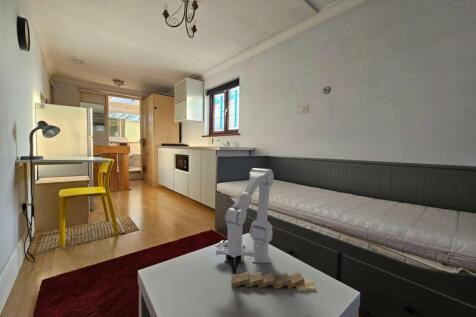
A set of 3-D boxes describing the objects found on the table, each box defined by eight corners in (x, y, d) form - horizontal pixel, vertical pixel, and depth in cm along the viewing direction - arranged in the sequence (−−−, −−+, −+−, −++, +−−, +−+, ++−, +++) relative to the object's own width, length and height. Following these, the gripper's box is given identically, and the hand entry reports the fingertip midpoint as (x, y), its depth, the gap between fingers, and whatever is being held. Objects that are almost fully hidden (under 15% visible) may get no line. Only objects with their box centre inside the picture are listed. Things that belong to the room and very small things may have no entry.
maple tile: (294, 280, 80) (311, 280, 80) (293, 284, 80) (311, 284, 80) (297, 288, 75) (315, 288, 75) (297, 292, 75) (315, 292, 75)
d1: (231, 276, 81) (248, 271, 80) (232, 279, 81) (249, 275, 80) (231, 283, 76) (248, 278, 76) (232, 287, 76) (249, 282, 76)
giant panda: (246, 259, 96) (246, 239, 95) (244, 265, 90) (244, 245, 90) (217, 255, 99) (217, 236, 98) (213, 261, 93) (213, 241, 93)
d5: (282, 277, 80) (298, 271, 81) (283, 281, 80) (299, 275, 81) (287, 285, 76) (304, 278, 77) (288, 288, 76) (304, 282, 77)
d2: (244, 276, 80) (261, 271, 80) (245, 280, 81) (262, 275, 80) (244, 283, 76) (262, 278, 76) (246, 287, 76) (263, 282, 76)
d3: (256, 277, 80) (273, 272, 80) (257, 280, 80) (274, 276, 80) (257, 284, 76) (275, 279, 76) (258, 288, 76) (276, 283, 76)
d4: (270, 278, 80) (286, 272, 80) (271, 281, 80) (287, 276, 80) (273, 285, 75) (290, 279, 76) (274, 289, 75) (291, 283, 76)
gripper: (214, 242, 74) (214, 278, 75) (253, 244, 73) (253, 280, 74) (217, 234, 81) (217, 267, 82) (253, 236, 80) (252, 268, 81)
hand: (234, 272), depth 78 cm, fingers closed
